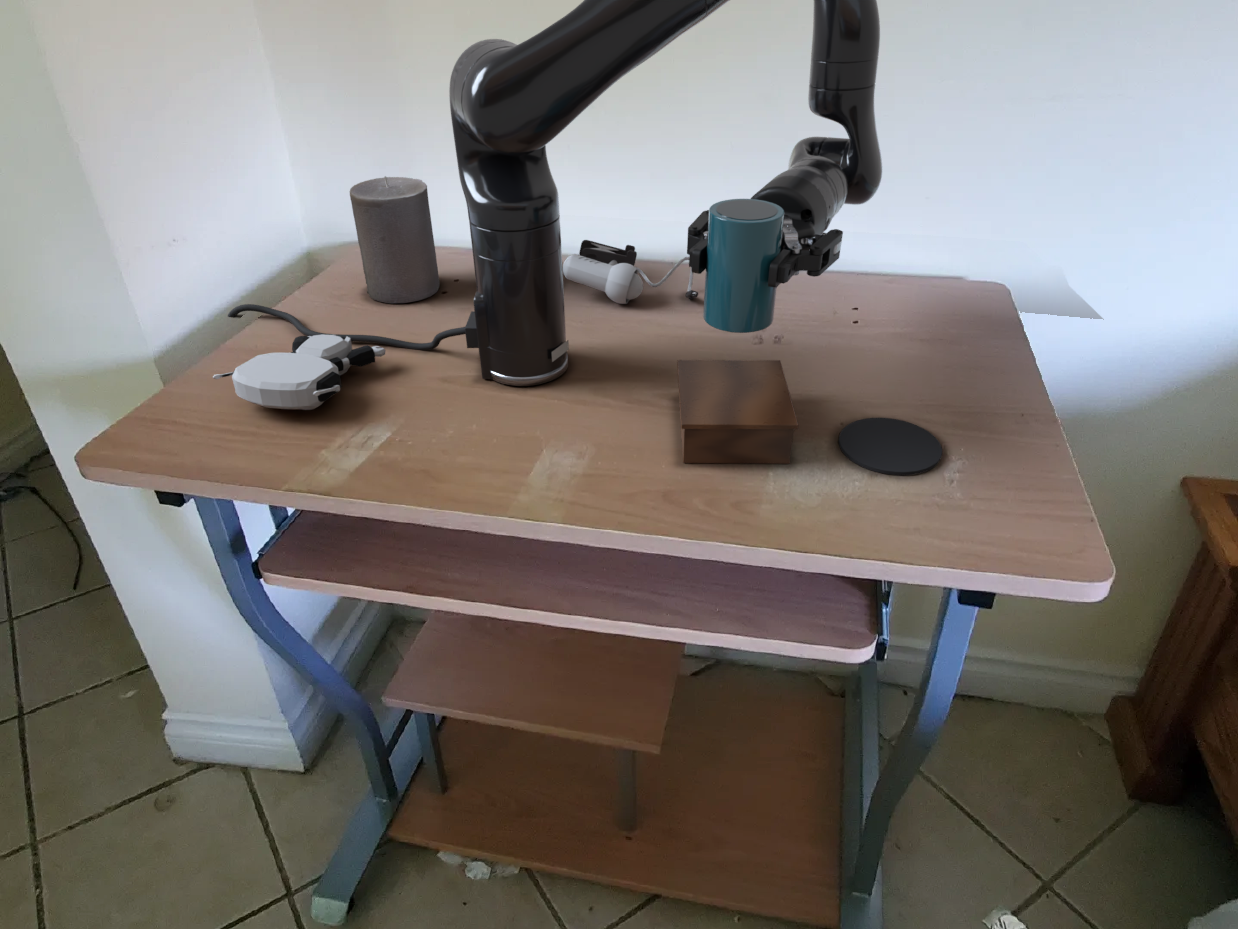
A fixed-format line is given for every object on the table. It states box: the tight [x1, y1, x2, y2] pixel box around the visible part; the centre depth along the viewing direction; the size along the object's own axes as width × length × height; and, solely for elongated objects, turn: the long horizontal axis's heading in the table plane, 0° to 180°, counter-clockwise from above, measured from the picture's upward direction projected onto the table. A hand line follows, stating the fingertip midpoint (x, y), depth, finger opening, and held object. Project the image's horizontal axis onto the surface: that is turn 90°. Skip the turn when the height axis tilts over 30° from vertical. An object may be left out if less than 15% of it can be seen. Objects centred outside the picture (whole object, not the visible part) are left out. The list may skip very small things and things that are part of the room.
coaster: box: [838, 417, 943, 476], centre depth 83 cm, size 10×10×1 cm
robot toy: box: [212, 334, 386, 411], centre depth 92 cm, size 12×4×15 cm
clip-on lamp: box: [562, 239, 699, 305], centre depth 112 cm, size 12×6×18 cm
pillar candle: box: [349, 175, 441, 304], centre depth 111 cm, size 10×10×15 cm
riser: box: [676, 359, 799, 465], centre depth 84 cm, size 11×13×4 cm
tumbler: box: [702, 198, 784, 334], centre depth 76 cm, size 6×6×10 cm
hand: (733, 269), depth 74 cm, fingers closed on tumbler, 6 cm apart
